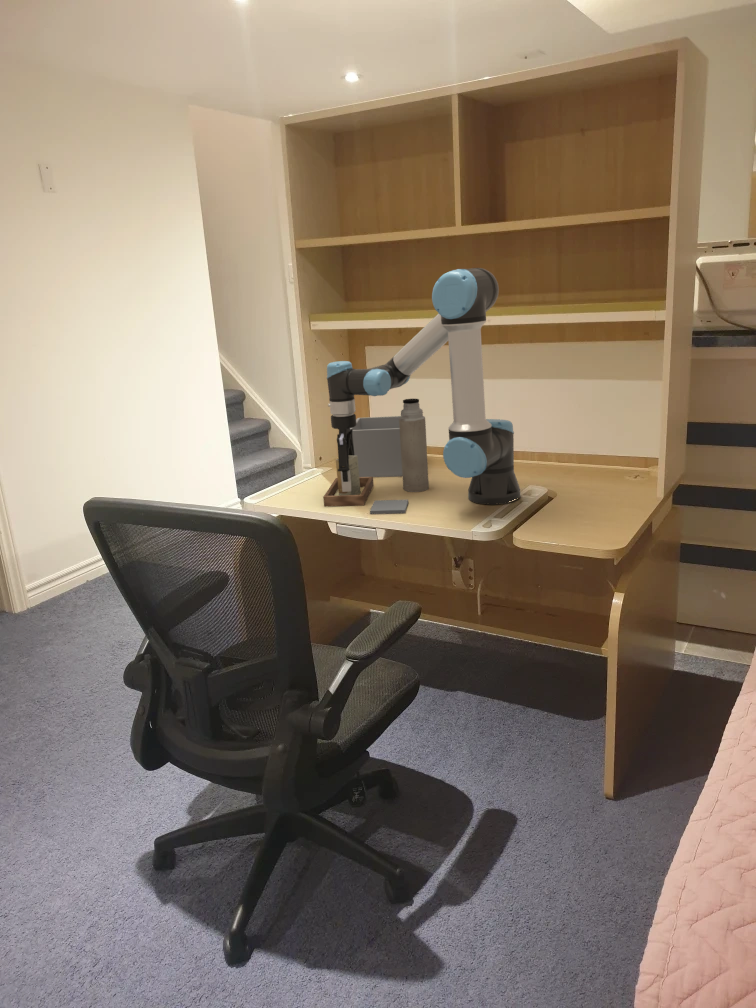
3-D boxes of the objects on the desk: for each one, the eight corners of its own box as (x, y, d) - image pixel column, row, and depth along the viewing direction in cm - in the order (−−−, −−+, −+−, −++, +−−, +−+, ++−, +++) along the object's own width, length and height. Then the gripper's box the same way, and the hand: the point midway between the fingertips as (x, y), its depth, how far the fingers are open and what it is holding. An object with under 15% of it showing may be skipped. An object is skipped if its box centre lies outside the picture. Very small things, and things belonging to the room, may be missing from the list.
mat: (408, 502, 228) (408, 499, 228) (405, 513, 219) (405, 509, 218) (374, 503, 229) (374, 500, 229) (370, 514, 220) (369, 510, 220)
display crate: (421, 459, 277) (419, 415, 272) (416, 475, 256) (414, 428, 252) (361, 461, 280) (357, 417, 276) (351, 477, 260) (347, 430, 255)
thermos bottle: (415, 483, 247) (410, 396, 239) (434, 487, 242) (429, 398, 234) (398, 489, 242) (392, 400, 234) (416, 493, 237) (411, 402, 228)
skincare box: (349, 492, 243) (346, 454, 239) (361, 493, 241) (358, 455, 237) (338, 498, 238) (334, 459, 234) (350, 499, 236) (346, 460, 232)
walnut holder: (373, 485, 248) (372, 476, 247) (364, 505, 228) (363, 495, 228) (336, 486, 250) (336, 477, 249) (324, 506, 230) (323, 496, 229)
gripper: (336, 408, 242) (342, 479, 249) (324, 421, 223) (331, 497, 230) (360, 407, 241) (365, 478, 247) (349, 420, 222) (356, 496, 228)
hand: (349, 487), depth 238 cm, fingers closed on skincare box, 7 cm apart
